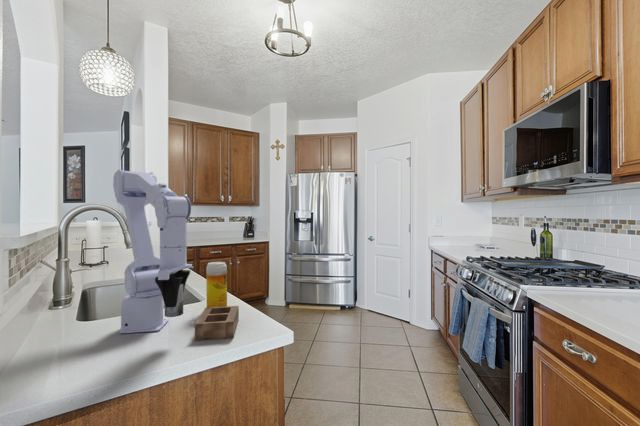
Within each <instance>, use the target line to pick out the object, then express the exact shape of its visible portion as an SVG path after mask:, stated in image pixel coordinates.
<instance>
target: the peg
mask: <svg viewBox="0 0 640 426" xmlns="http://www.w3.org/2000/svg"><path fill="white" fill-rule="evenodd" d="M182 315H184V293H183V283H181V284H180V287H179V291H178V299H177V304H176V307H168V308H166V307H165V306H164V317H165V318H174V317H180V316H182Z"/></svg>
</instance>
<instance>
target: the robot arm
mask: <svg viewBox="0 0 640 426" xmlns="http://www.w3.org/2000/svg"><path fill="white" fill-rule="evenodd" d="M112 184H113V185H112V186H113V192H114V198H115V199H116V203H118V204H120V205H122V206H123V210H124V214H125V217H126V224H127V230H128V233H129V239H130V244H131V250H132V254H133V261H131V262H130V263H129V264H128V265H127V266H126V268H125V270H124V290H125V292H126V294H127V295H125V296H124V297H123V298H122V303H121V306H120V331H119V334H133V333H146V332H147V333H149V332H150V333H151V332H158V331H159V332H160V331H161V330H162V328H163V327H165V325H166V324H168V322H169V319H168V318H164V308H165V307H166V308H168V307H176V304H177V299H178V291H179V287H180V284H181V283H183V294H184V291H185V286H186V283H187V281H188V278H189V276H190V274H191V270H190V269H191V268H192V267H193V264H192V263H187V262H188V261H187V259H188V257H187V255H188V254H187V251H188V247H187V243H188V242H187V238H188V237H187V220H188V219H189V218H190V216H191V214H192V203H191V200H190V198H189V197H188V196H187V195H181V196H180V195H179V196H178V195H177V193H175V192H174V191H173V190H171V189H170V188H169V187H168V185H167V184H166V183H161V182H160V183H159V182H158V177H157V175H156V174H155V173H154V172H146V171H145V172H142V171H131V170H123V169H117V170H116V171H115V172H114V175H113V182H112ZM147 205H151V206H152V207H153V208H154V213H155V216H156V225H157V228H159V257H157V256H156V255H155V253H154V248H153V244H152V239H151V234H150V230H149V229H150V228H149V225H148V221H147V215H146V210H145V206H147Z"/></svg>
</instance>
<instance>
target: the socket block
mask: <svg viewBox="0 0 640 426" xmlns="http://www.w3.org/2000/svg"><path fill="white" fill-rule="evenodd" d="M239 309H240V308H239V305H229V306H228V305H227V306H225V307H207V306H206V307H205V308H204V309H203V312H201V314H200V316H198V319H197V320H196V321H195V323H194V340H195V341H196V342H197V341H206V340H207V341H208V340H210V341H211V340H224V339H234V338H235V334H236V330H237V327H238V323H239V314H240V312H239Z"/></svg>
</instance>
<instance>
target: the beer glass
mask: <svg viewBox="0 0 640 426" xmlns="http://www.w3.org/2000/svg"><path fill="white" fill-rule="evenodd" d="M205 269H206V270H205V271H206V276H205V277H206V307H225V306H228V267H227V264H226V262H225V261H212V262H208V263H207V265H206V268H205Z"/></svg>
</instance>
